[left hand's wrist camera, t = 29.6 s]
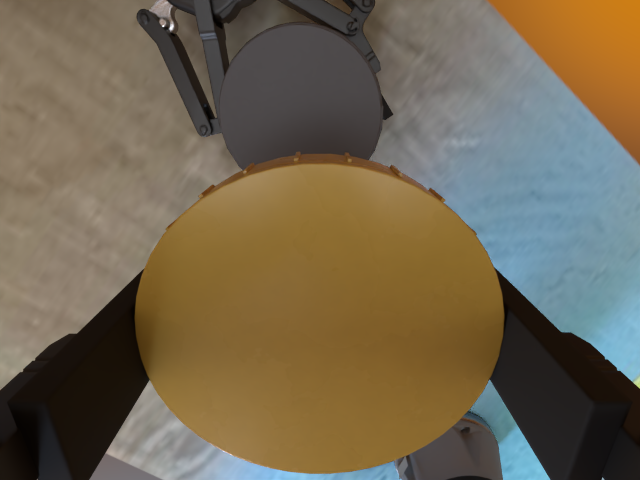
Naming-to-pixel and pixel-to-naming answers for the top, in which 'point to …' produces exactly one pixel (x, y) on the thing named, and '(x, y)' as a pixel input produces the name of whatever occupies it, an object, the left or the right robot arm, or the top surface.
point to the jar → (299, 96)
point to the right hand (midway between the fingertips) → (335, 151)
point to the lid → (319, 315)
